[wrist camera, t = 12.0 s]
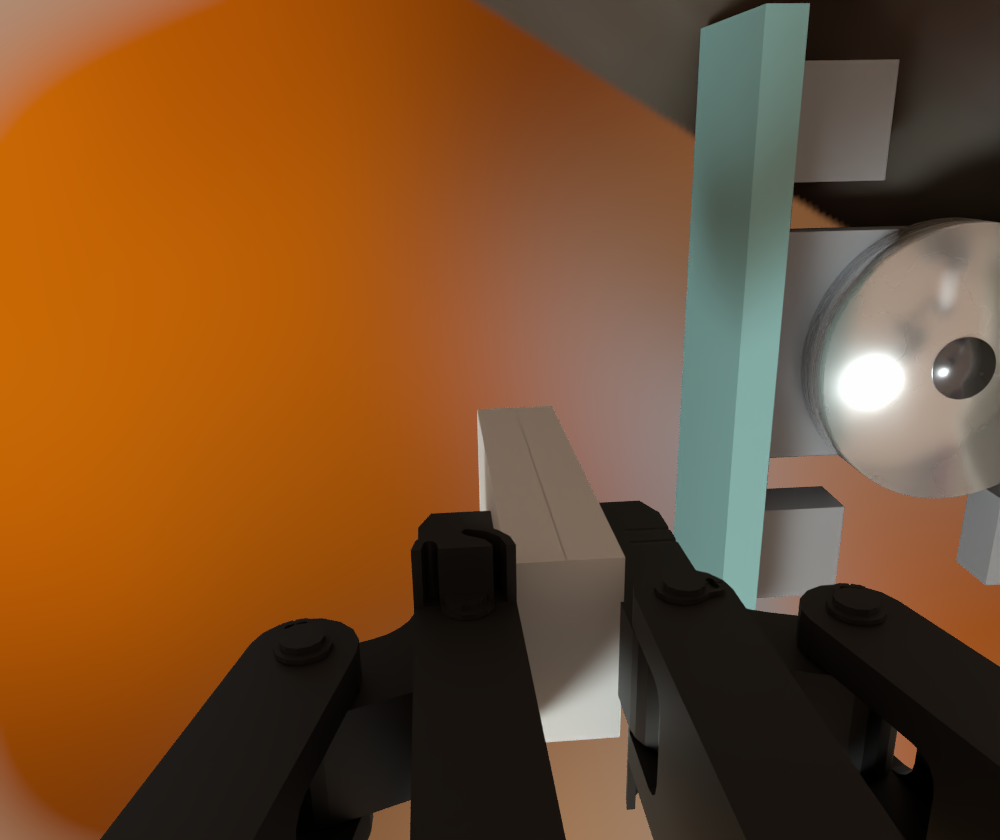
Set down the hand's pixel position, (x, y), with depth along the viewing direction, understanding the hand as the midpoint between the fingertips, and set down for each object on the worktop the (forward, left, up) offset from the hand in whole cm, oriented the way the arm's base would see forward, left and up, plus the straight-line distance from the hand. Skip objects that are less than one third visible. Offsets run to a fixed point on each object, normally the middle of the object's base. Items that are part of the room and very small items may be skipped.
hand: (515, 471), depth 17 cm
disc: (0, +13, -8) cm, 15 cm away
